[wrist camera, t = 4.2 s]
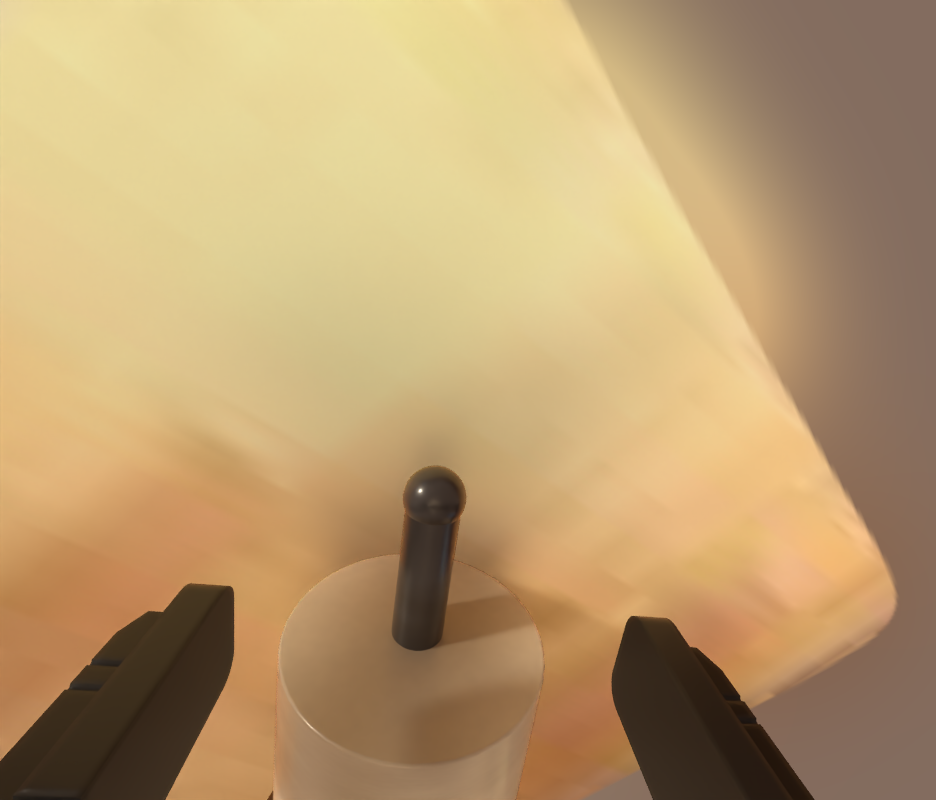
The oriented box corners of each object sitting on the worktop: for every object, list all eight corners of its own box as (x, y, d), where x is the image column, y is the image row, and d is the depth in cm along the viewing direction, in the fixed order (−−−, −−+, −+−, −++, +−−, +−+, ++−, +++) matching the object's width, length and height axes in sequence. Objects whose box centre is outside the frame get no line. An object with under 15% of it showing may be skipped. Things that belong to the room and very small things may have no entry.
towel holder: (290, 729, 21) (165, 1117, 11) (305, 400, 17) (129, 567, 7) (498, 736, 22) (548, 1097, 12) (561, 428, 18) (712, 608, 8)
